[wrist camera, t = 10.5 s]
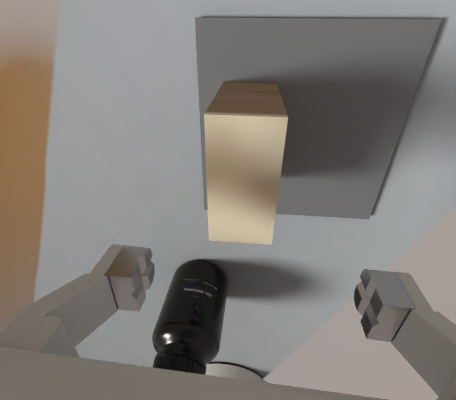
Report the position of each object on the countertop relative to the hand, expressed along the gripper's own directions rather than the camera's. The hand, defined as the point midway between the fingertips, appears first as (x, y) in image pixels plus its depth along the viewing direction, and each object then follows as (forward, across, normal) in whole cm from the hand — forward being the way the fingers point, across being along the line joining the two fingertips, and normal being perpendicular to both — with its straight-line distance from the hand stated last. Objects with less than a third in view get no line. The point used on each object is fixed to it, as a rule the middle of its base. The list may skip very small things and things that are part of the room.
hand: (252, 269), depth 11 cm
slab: (+14, +1, -1) cm, 15 cm away
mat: (+15, -3, -1) cm, 16 cm away
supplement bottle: (+16, +6, +18) cm, 25 cm away
